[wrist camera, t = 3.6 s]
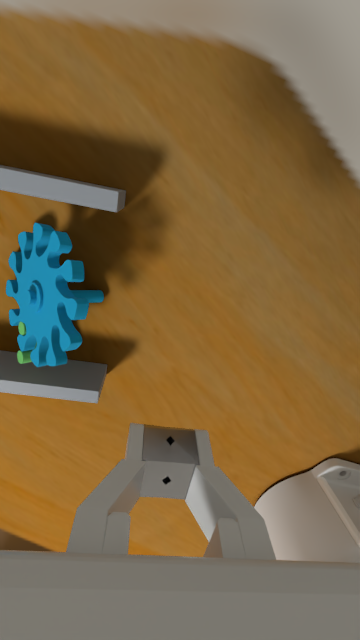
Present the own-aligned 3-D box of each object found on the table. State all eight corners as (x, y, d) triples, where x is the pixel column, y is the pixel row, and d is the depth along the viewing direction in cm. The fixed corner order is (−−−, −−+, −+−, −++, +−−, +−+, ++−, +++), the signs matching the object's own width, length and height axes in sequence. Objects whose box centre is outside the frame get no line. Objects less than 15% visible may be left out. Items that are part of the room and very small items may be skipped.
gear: (16, 192, 20) (87, 284, 16) (92, 210, 24) (162, 285, 20) (-14, 315, 25) (33, 409, 21) (53, 311, 30) (103, 388, 25)
